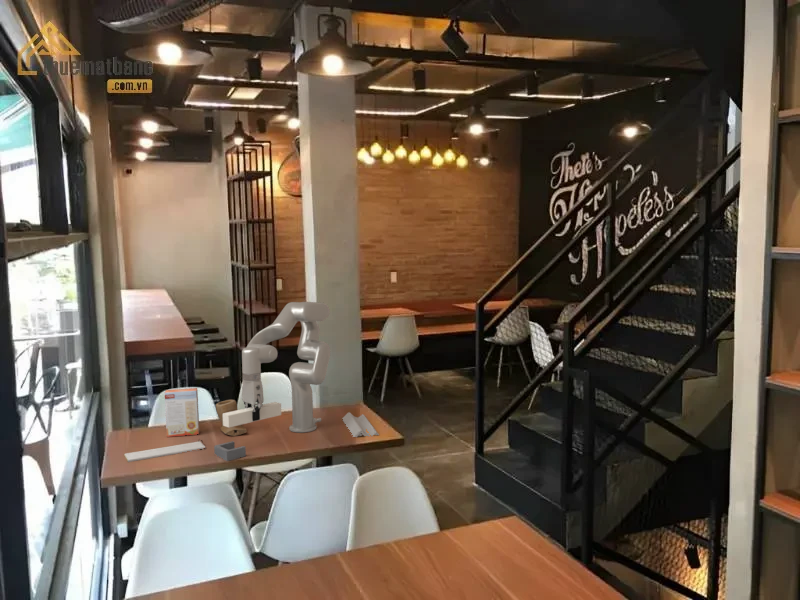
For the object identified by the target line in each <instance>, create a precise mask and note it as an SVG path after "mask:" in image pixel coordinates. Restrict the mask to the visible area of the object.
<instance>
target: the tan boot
mask: <svg viewBox="0 0 800 600" xmlns="http://www.w3.org/2000/svg"><path fill="white" fill-rule="evenodd" d="M215 410H216V413H217V416H218V419H219V420H220V422H221V425H222V426H221V427H220V431H221V432H222V433H224V434H225V435H227V436H232V437H235V436H240V435H243V434H245V433H247V429H246V427H244V426H243V424H242V425H238V426H233V427H226V426H223V413H227V412H232V411H236V410H239V409H238V404H237V401H236V400H235V399H226V400H223V401H219V402H217V403H216V404H215Z"/></svg>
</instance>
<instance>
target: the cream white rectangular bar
mask: <svg viewBox="0 0 800 600" xmlns="http://www.w3.org/2000/svg"><path fill="white" fill-rule="evenodd" d="M262 404H263V406H262V407H261V408H260V420H257V421H256V422H258V421H261V420H265V419H271V418H274V417H278V416H282V403H280V402H278V401H273V402H269V403H262ZM256 406H257V405H255V408H256ZM252 412H253V406H252V407H250V408H245V407H244V408H241V409H238V410H236V411H232V412H227V413H223V426H226V427H233V426H238V425H242V426H243V425H246V424H249V423H253V422H255V421H253V419H252Z"/></svg>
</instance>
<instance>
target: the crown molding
mask: <svg viewBox="0 0 800 600" xmlns="http://www.w3.org/2000/svg"><path fill="white" fill-rule="evenodd" d="M342 419H343V420H342ZM341 420H342V421H343V423H344V425H345V424H346V425H345V427H346V428H347V427H348V428H347V430H348V429H349V430H350V431H349V430H348V431H349V433H350V432H351V433H352V434H351V433H350V434H351V436H352V435H353V436H352V438H353V437H356V438H358V437H362V436H364V437H365V436H368V437H374V436H373V435H375V436H380V433H378V431H377V430H376V428H375V427H374V425H372V424H371V422H370V421H369V419H368V417H366V416H365V414H364V413H363V414H361V415H360V416H358V417H357V416H354V415H353V414H352V413H351V412H350V411H349V412H348V411H347V413H346V414H345V415H344V416H343V417H342V418H341ZM366 429H367V431H368V432H369V433H367V432H366ZM369 434H370V435H371V436H370V435H369Z"/></svg>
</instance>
